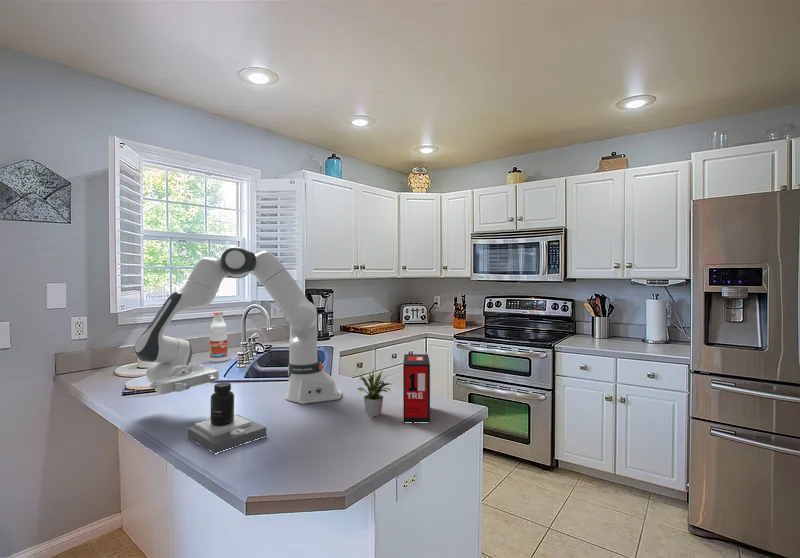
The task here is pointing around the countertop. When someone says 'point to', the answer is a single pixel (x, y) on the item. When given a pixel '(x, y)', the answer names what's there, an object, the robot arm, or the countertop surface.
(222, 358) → the fruit juice
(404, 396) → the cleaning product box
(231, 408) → the supplement bottle
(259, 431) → the kitchen scale
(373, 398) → the house plant
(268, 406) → the countertop surface
